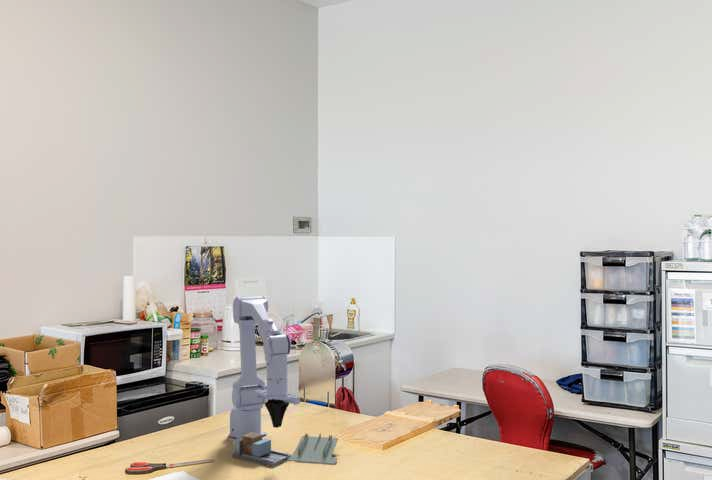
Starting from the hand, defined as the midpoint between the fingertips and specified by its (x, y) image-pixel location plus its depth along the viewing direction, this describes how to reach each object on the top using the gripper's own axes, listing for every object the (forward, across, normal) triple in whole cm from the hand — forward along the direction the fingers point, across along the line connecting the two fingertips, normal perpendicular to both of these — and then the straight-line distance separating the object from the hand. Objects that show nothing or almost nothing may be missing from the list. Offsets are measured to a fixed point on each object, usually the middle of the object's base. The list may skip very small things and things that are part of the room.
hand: (277, 426), depth 187 cm
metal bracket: (+11, +6, +10) cm, 16 cm away
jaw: (+9, -6, 0) cm, 10 cm away
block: (+9, -9, 0) cm, 13 cm away
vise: (+10, -6, 0) cm, 12 cm away
